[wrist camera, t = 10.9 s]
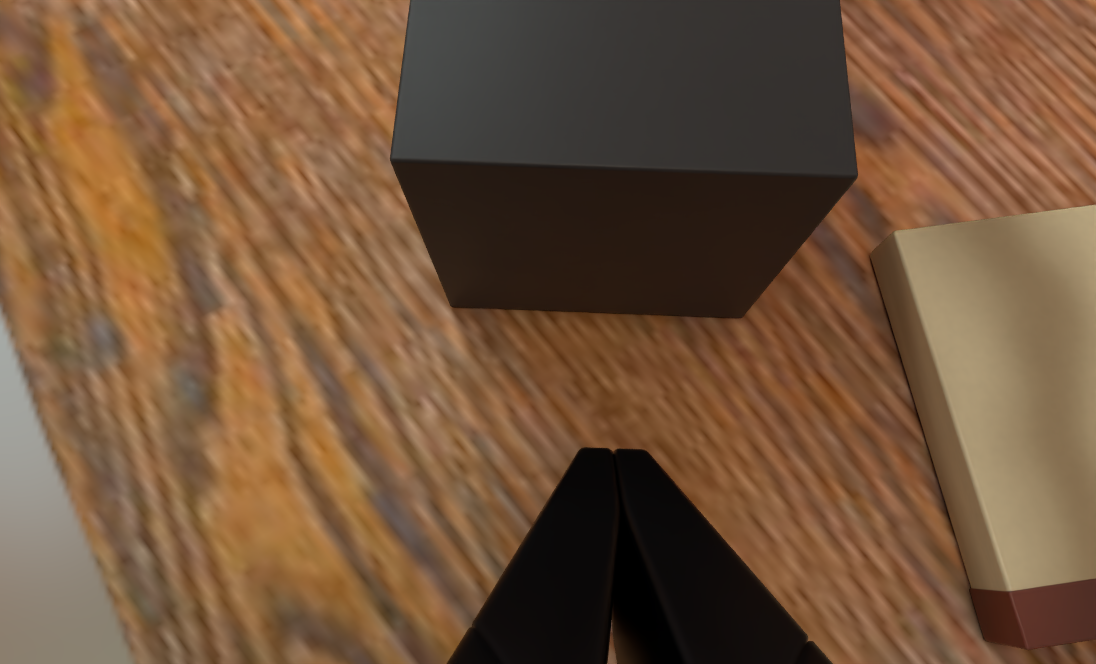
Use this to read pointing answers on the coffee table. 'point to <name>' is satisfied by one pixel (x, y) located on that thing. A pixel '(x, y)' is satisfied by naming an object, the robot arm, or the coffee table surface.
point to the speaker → (621, 148)
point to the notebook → (1008, 406)
